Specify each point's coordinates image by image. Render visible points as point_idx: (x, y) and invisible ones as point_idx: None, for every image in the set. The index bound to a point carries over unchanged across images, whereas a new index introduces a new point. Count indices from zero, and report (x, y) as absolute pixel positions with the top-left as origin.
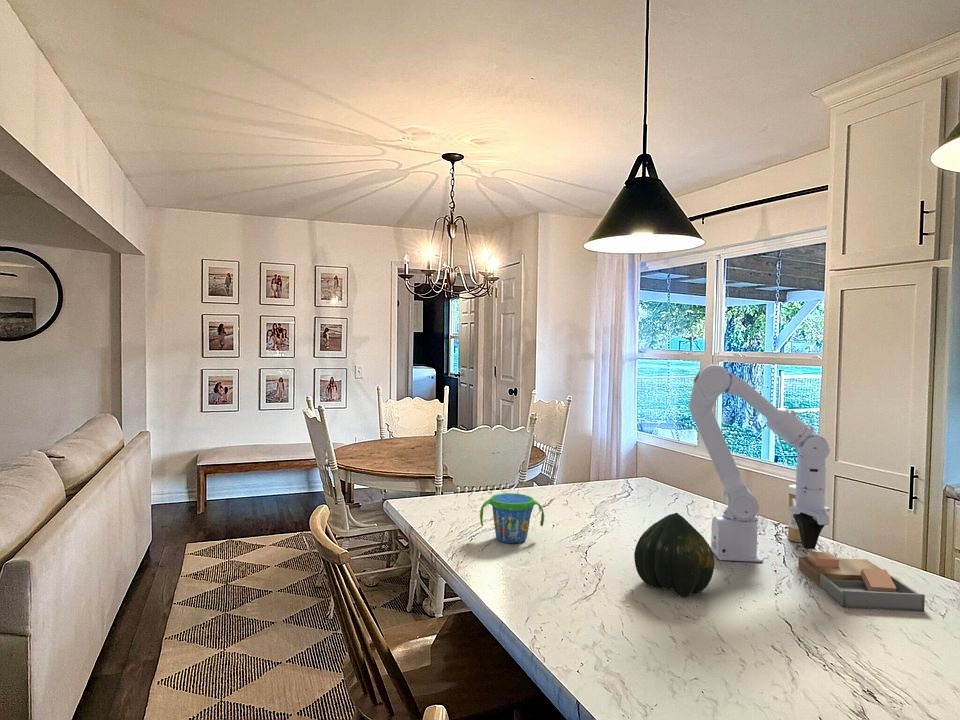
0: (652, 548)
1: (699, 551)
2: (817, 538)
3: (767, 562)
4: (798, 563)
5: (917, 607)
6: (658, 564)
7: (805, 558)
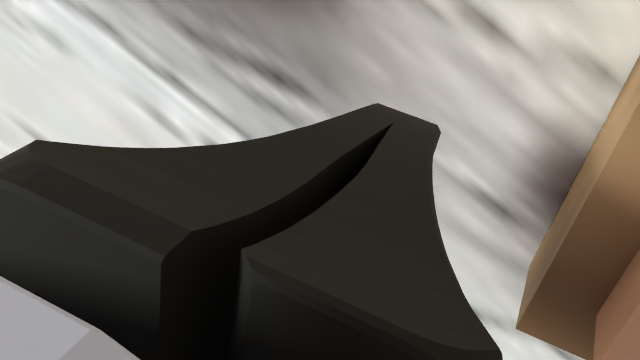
0: None
1: None
2: (431, 187)
3: None
4: (526, 288)
5: None
6: None
7: (583, 320)
